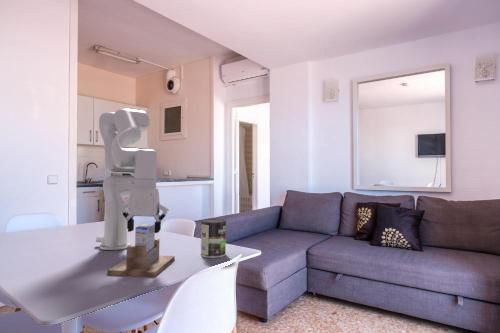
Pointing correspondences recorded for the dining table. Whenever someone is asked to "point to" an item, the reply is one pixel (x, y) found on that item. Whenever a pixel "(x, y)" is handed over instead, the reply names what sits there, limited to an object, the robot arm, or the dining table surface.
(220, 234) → the coffee can
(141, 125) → the robot arm
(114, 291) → the dining table surface
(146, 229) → the medicine box
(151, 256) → the display stand
